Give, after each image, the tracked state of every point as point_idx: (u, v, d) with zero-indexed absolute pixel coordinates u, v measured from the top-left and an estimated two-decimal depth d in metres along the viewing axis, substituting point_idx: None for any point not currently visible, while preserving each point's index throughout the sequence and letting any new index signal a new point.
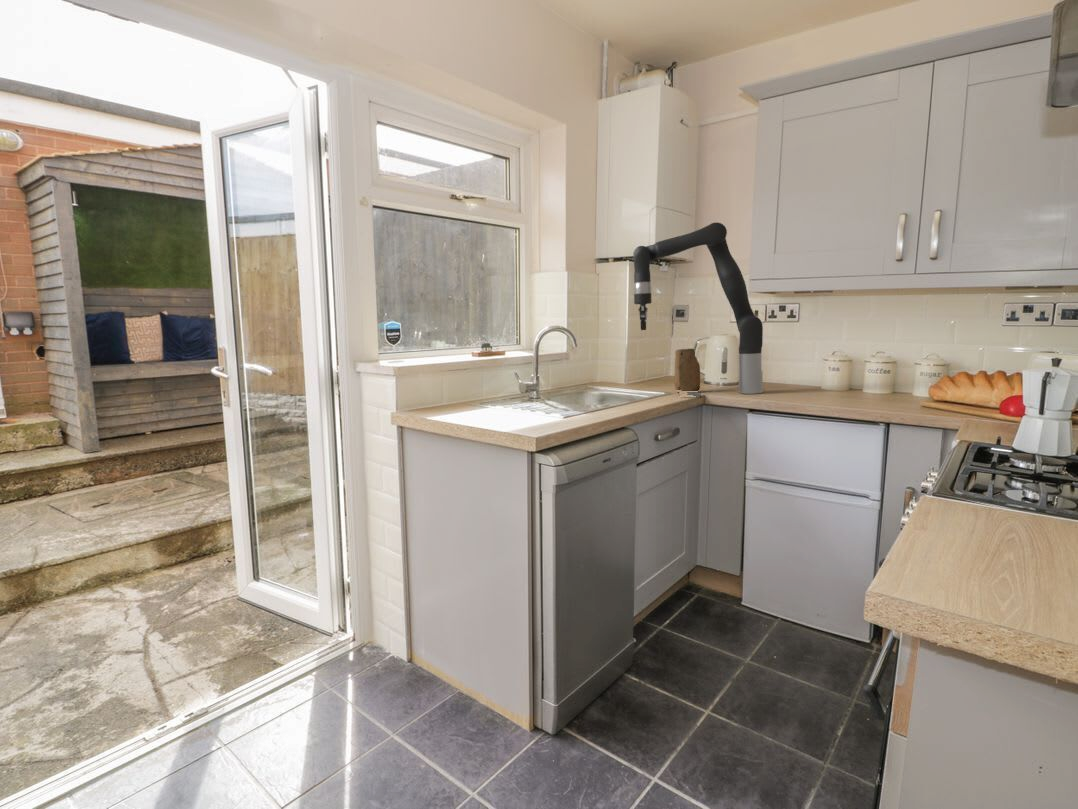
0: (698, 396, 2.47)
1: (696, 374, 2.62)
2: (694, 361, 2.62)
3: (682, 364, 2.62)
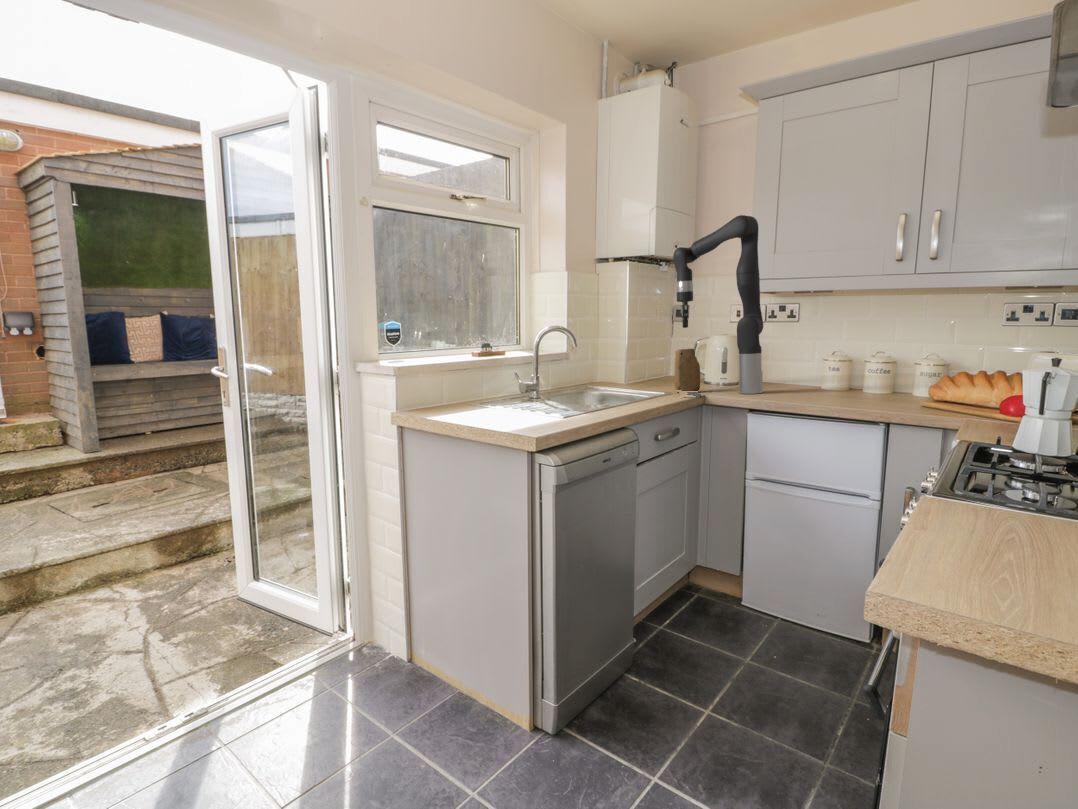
0: (698, 396, 2.47)
1: (696, 374, 2.62)
2: (694, 361, 2.62)
3: (682, 364, 2.62)
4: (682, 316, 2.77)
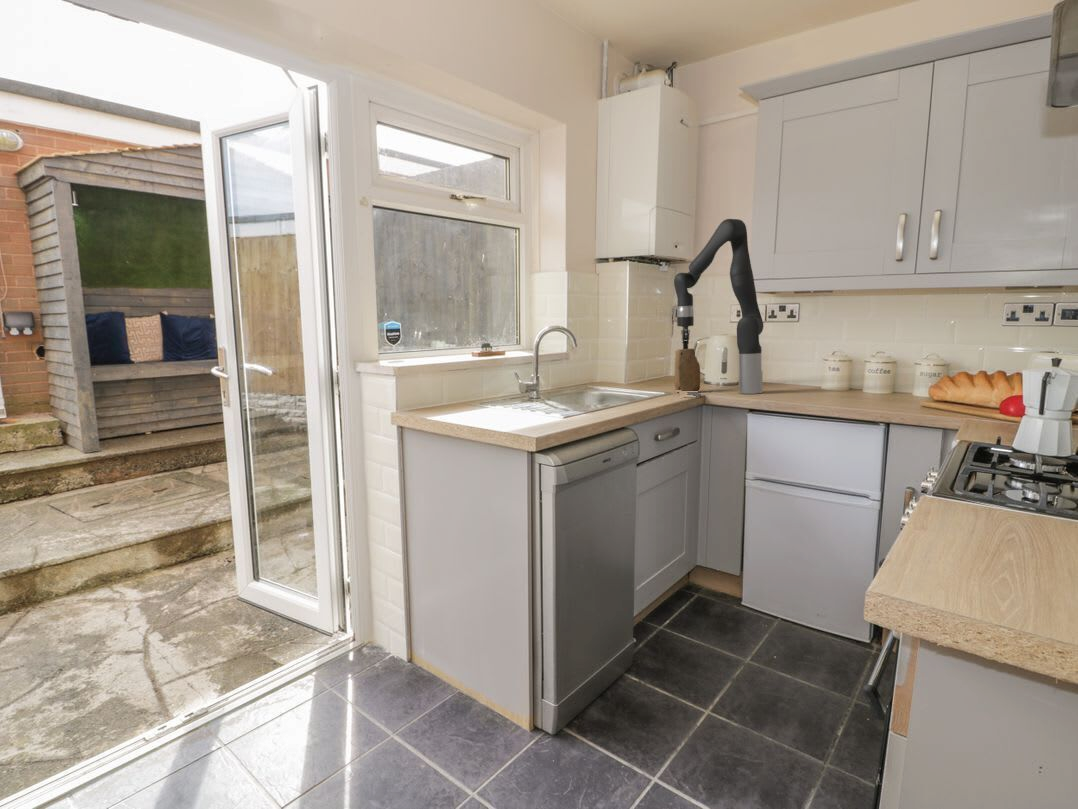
0: (698, 396, 2.47)
1: (696, 374, 2.62)
2: (694, 361, 2.62)
3: (682, 364, 2.62)
4: None
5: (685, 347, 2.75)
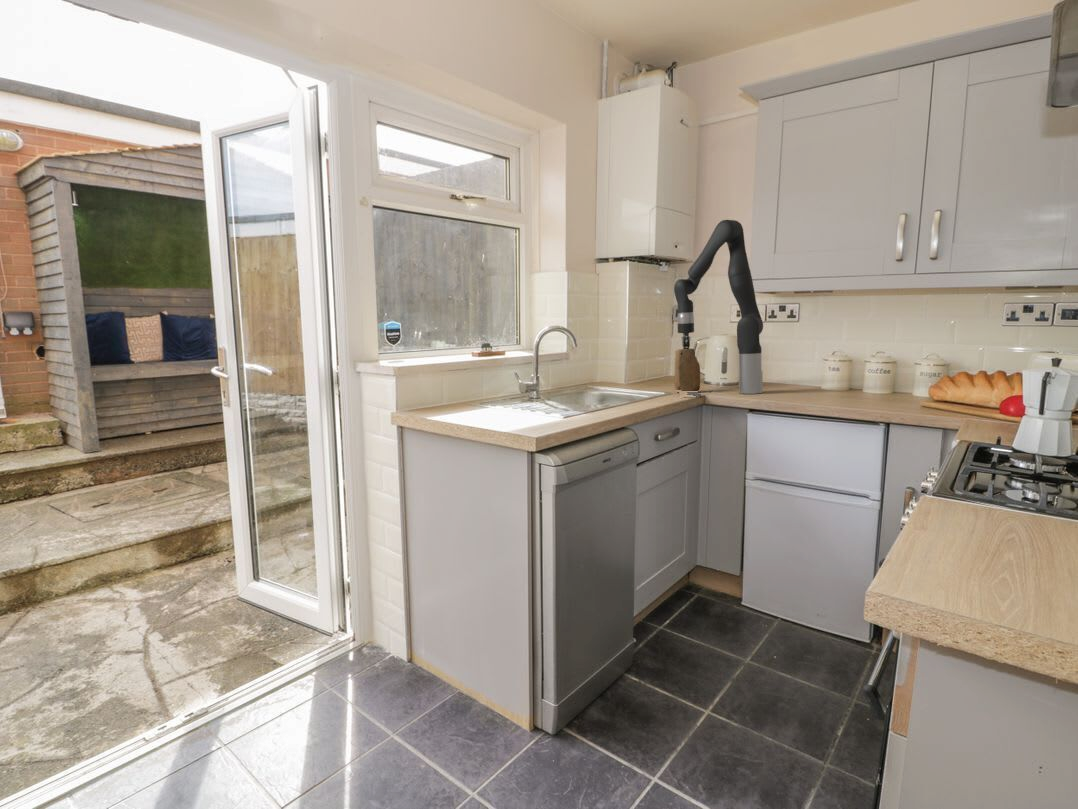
0: (698, 396, 2.47)
1: (696, 374, 2.62)
2: (694, 361, 2.62)
3: (682, 364, 2.62)
4: (683, 347, 2.75)
5: None
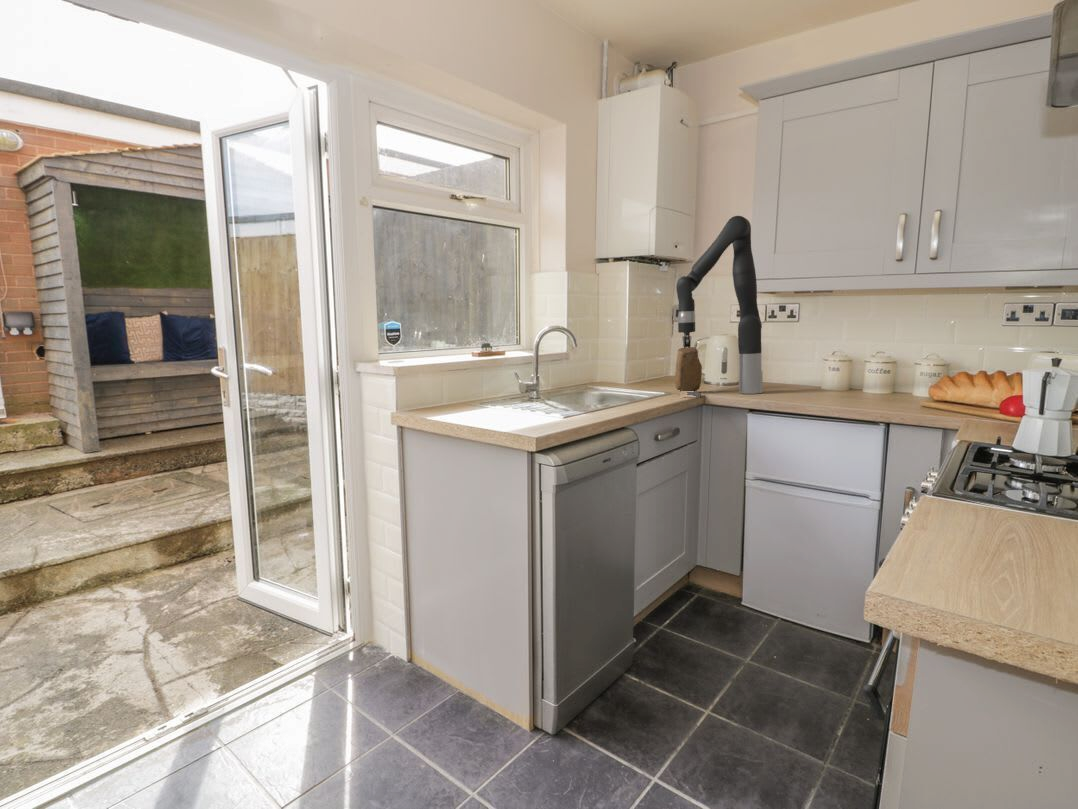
0: (698, 396, 2.47)
1: (698, 375, 2.60)
2: (696, 363, 2.57)
3: (684, 366, 2.57)
4: None
5: None
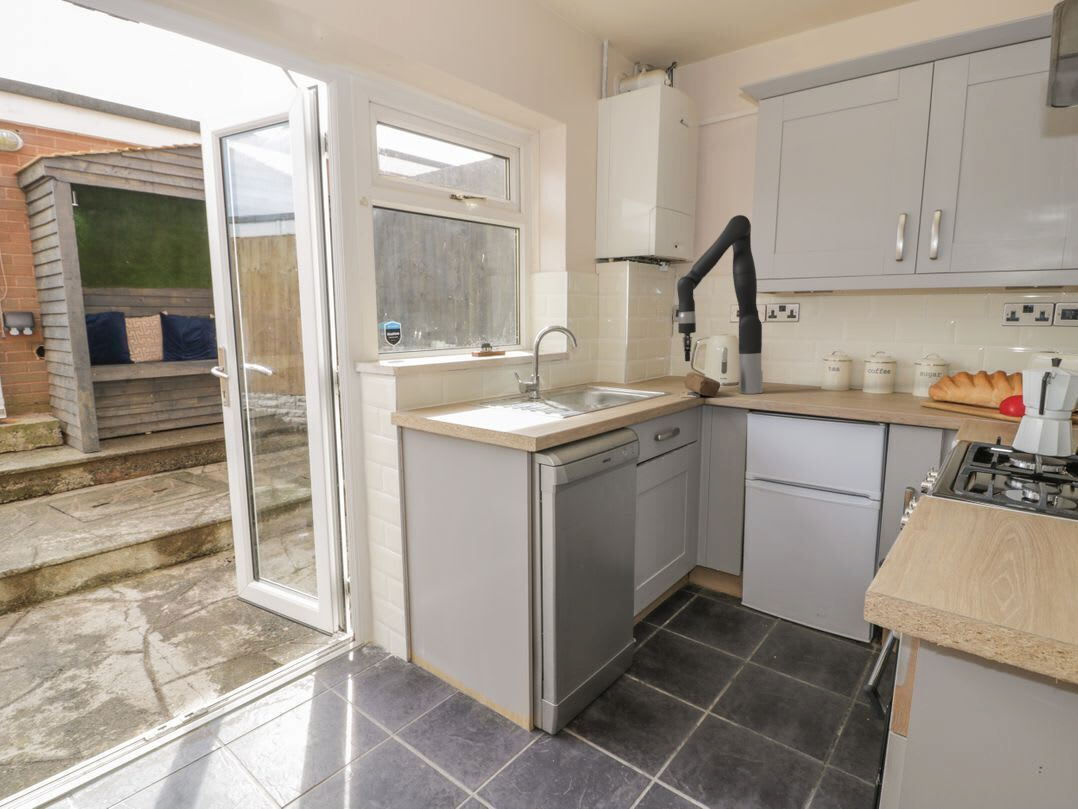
0: (698, 396, 2.47)
1: None
2: None
3: None
4: None
5: (687, 355, 2.60)
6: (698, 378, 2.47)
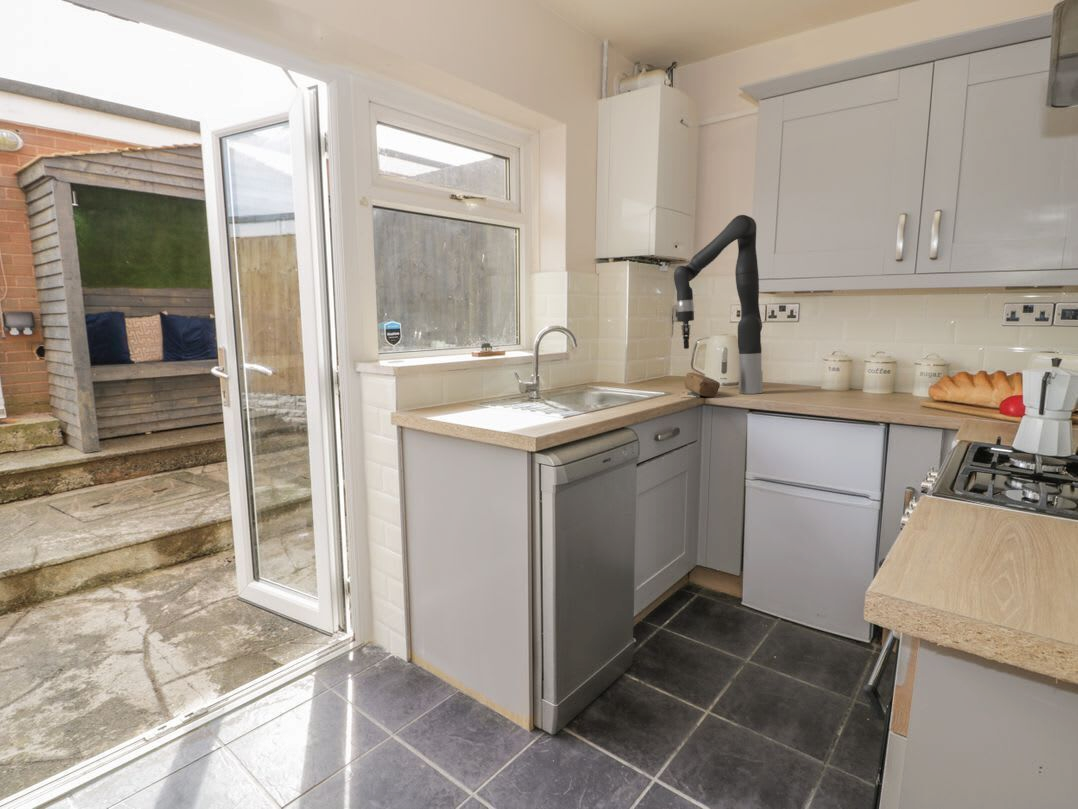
0: (698, 396, 2.47)
1: None
2: None
3: None
4: None
5: (686, 342, 2.67)
6: (697, 379, 2.47)
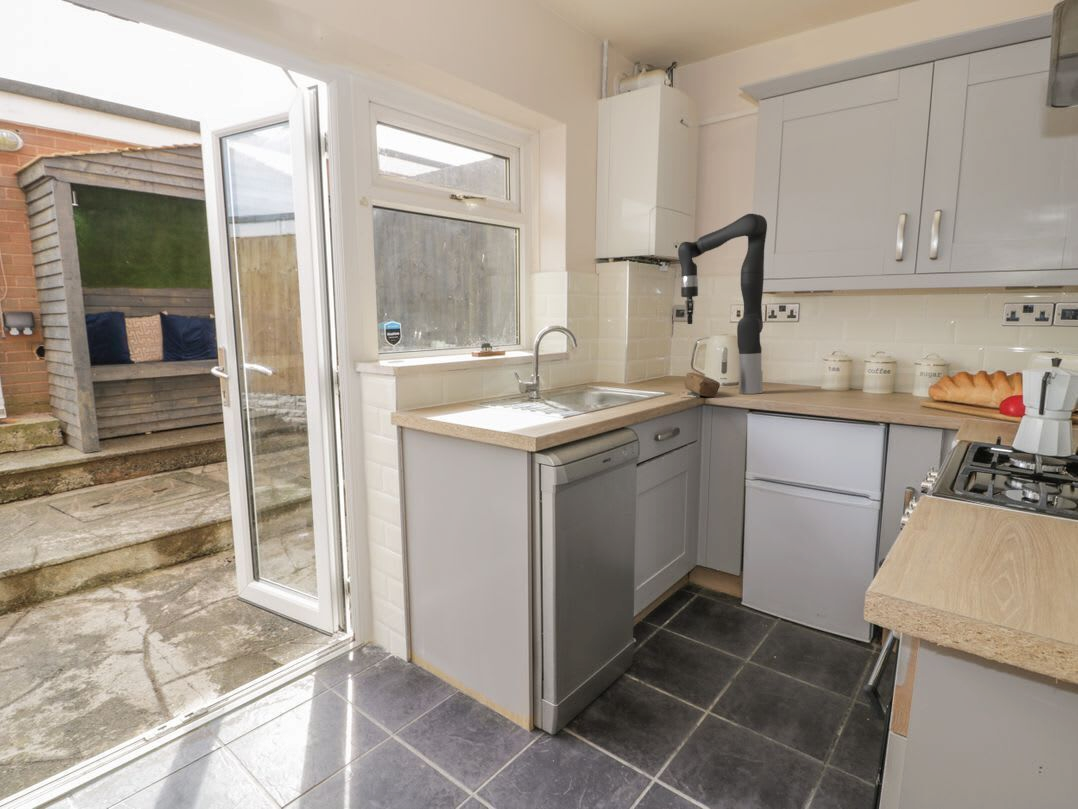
0: (698, 396, 2.47)
1: None
2: None
3: None
4: None
5: (689, 318, 2.71)
6: (697, 379, 2.47)
